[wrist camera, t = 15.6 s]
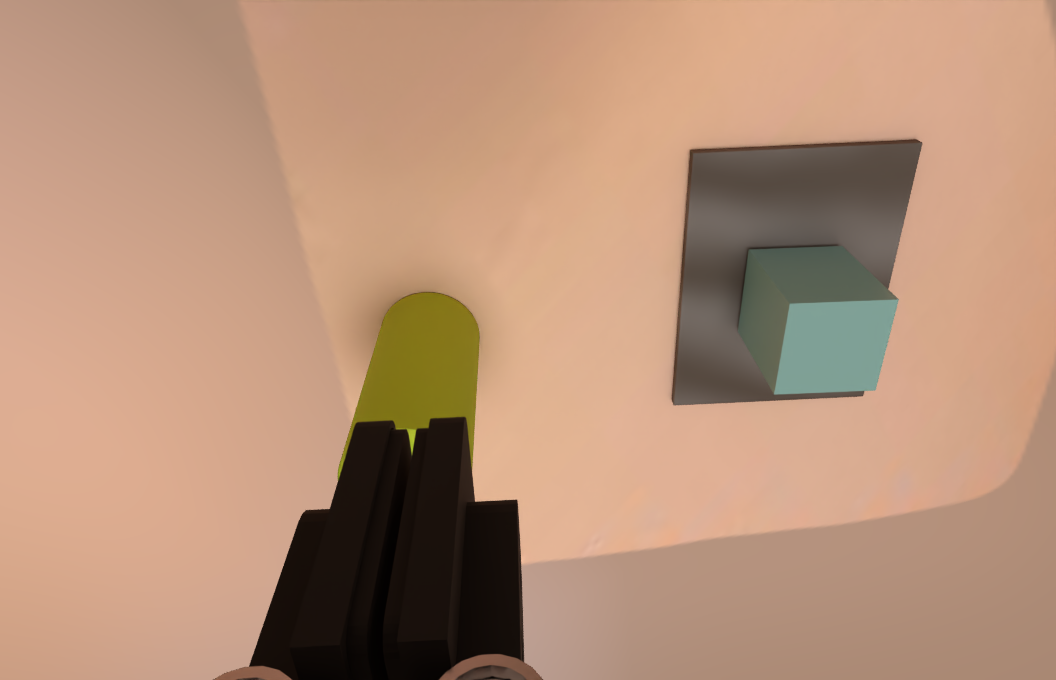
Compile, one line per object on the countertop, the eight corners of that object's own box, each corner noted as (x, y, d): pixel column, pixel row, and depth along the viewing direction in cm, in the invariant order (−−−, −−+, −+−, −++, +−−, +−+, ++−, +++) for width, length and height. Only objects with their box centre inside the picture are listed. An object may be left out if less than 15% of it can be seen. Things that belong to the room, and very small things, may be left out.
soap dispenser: (449, 263, 41) (410, 511, 24) (494, 360, 44) (488, 640, 27) (355, 296, 42) (251, 559, 24) (406, 389, 45) (346, 678, 28)
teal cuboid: (748, 249, 40) (789, 303, 34) (842, 245, 40) (898, 299, 34) (737, 331, 43) (774, 394, 37) (825, 327, 43) (875, 390, 37)
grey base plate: (690, 150, 38) (725, 192, 32) (916, 139, 38) (994, 180, 32) (671, 399, 46) (697, 472, 40) (858, 390, 46) (912, 461, 40)
